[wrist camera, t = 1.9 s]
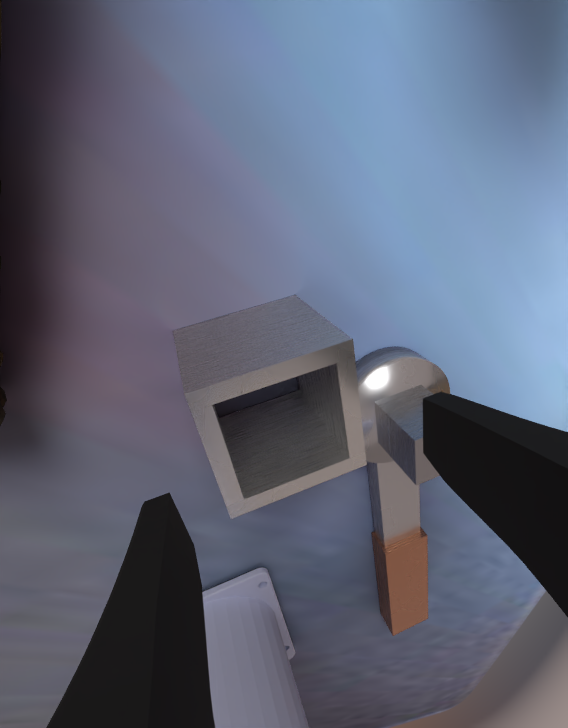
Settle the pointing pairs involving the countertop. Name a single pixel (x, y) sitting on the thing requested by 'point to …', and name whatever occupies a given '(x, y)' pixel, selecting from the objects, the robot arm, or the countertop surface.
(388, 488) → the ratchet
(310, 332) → the hollow square box
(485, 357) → the countertop surface
